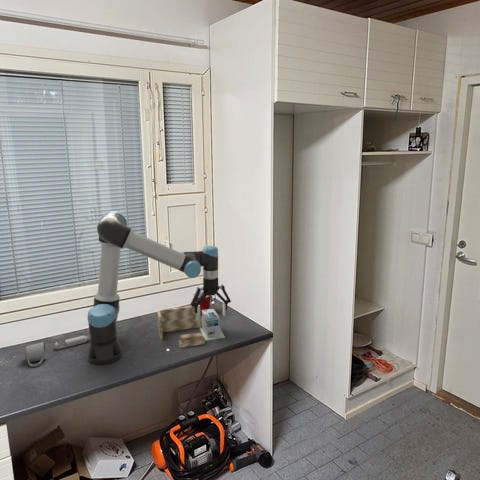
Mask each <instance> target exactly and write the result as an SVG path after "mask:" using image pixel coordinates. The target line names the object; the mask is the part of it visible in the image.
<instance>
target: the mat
mask: <svg viewBox="0 0 480 480" xmlns="http://www.w3.org/2000/svg"><path fill="white" fill-rule="evenodd" d="M199 331H200V333H201V334H203V336H204V340H205V342H207V341H215V340H220V339H221V338H222V339H225V338H226V336H225V334H224V332H223V331H222V329H221V328H220V336H215V337H209V338H208V337H207V336H206V334H205V332H204V331H203V329H202V327H199ZM222 339H221V340H222Z"/></svg>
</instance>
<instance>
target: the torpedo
mask: <svg viewBox="0 0 480 480" xmlns="http://www.w3.org/2000/svg"><path fill="white" fill-rule="evenodd" d="M89 341H90V335H85V333H84V334H83V335H80V336H77V337H71V338H67V339H65V340H64V343H63V342H62V343H60V344H59V343H58V341H56V342H54V343H53V344H54V345H53V347H54V350H61V349H66V348H69V347H74V346H77V345H82V344H85V343H88V342H89Z"/></svg>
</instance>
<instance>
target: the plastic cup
mask: <svg viewBox="0 0 480 480" xmlns="http://www.w3.org/2000/svg"><path fill="white" fill-rule="evenodd" d="M203 292H204V291H203V290H202V291H201V292H200V294H199V296H198V298H197V300H198V299H199V298H200V296H201V295H202V293H203ZM195 293H196V292H195ZM195 293H193V294H192V295H193V297H194V295H195ZM212 296H213V295H211V296H208V295H207V296H206V297H205V298H204V299H203V300H202V302H201V303H200V304H199V305H200V316H202V310H208V309H211V307H210V306H211V300H212ZM197 300H196V301H197Z"/></svg>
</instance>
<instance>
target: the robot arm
mask: <svg viewBox="0 0 480 480" xmlns="http://www.w3.org/2000/svg"><path fill="white" fill-rule="evenodd" d="M96 231H97V234H98V240H97V241H98V242H99V243H100V244H101V248H100V249H101V250H100V260H99V261H100V263H99V272H98V273H99V275H98V287H97V288H98V289H97V292H96V293H95V294H94V297H93V306H92V307H91V308H90V309H89V310H88V311H87V322H88V330H89V331H88V332H89V337H90V340H89V342H90V344H89V349H88V352H87V361H88V363H90V364H92V365H95V366H106V365H109V364H110V365H111V364H113V363H116V362H117V361H119V360H120V359H121V358H122V357H123V347H122V346H121V344H120V342H119V340H118V331H117V321H118V316H119V312H120V299H121V297H120V295H119V294H118V283H119V272H120V270H119V269H120V259H121V249H122V250H123V249H129V250H130V251H133V252H135V253H136V254H140V255H143V256H144V257H147V258H149V259H152V260H154V261H156V262H158V263H161V264H163V265H166V266H168V267H170V268H172V269H175V270H177V271H179V272H182V273H184V274H185V275H186V276H187V277H188V278H190V279H191V278H192V279H195V278H198V277H199V276H200V274H201V273H202V277H203V278H202V285H203V286H202V287H200V286H197V287H196V290H195V291H196V292H195V295H194V296H193V298H192V300H191V302H190V306H192V307H194V311H195V313H197V320H199V307H198V305H199V304H200V303H201V302H202V300H203V299H204V298H205V297H206V296H207V295H208V296H211V295H212V296H215V295H216V296H217V297H218V299H220V300H221V301H222V316H223V318H225V317H226V310H228V305H229V304H230V303H231V302H232V300H231V298H230V297H229V294H228V293H227V291H226V288H225V287H226V286H225V285H224V284H221V285H219V249H218V247H217V246H214V245H207V246H206V245H205V246H204V247H202V249H201V250H199V251H198V250H197V251H194V250H193V251H181V252H180V251H177V250H175V249H173V248H171V247H168V246H167V245H164V244H162V243H159V242H158V241H155V240H152V239H151V238H149V237H146V236H144V235H142V234H140V233H137V232H134V230H133V228H131V227H129V226H128V222H127V219H126V217H125V216H124V215H123V214H122V213H120V212H119V211H108V212H106V213H105V214H103V215H102V216H101V218H100V219H99V221H98V224H97V227H96ZM219 290H220V291H222V293H223V295H224V297H223V296H222V295H221V293H220V292H219ZM203 291H204V292H203ZM200 292H203V293H202V295H201V296H200V298H199V299H198V300H197V298H198V296H199V294H200ZM212 296H211V297H212ZM225 298H226V299H225ZM196 300H197V301H196Z"/></svg>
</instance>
